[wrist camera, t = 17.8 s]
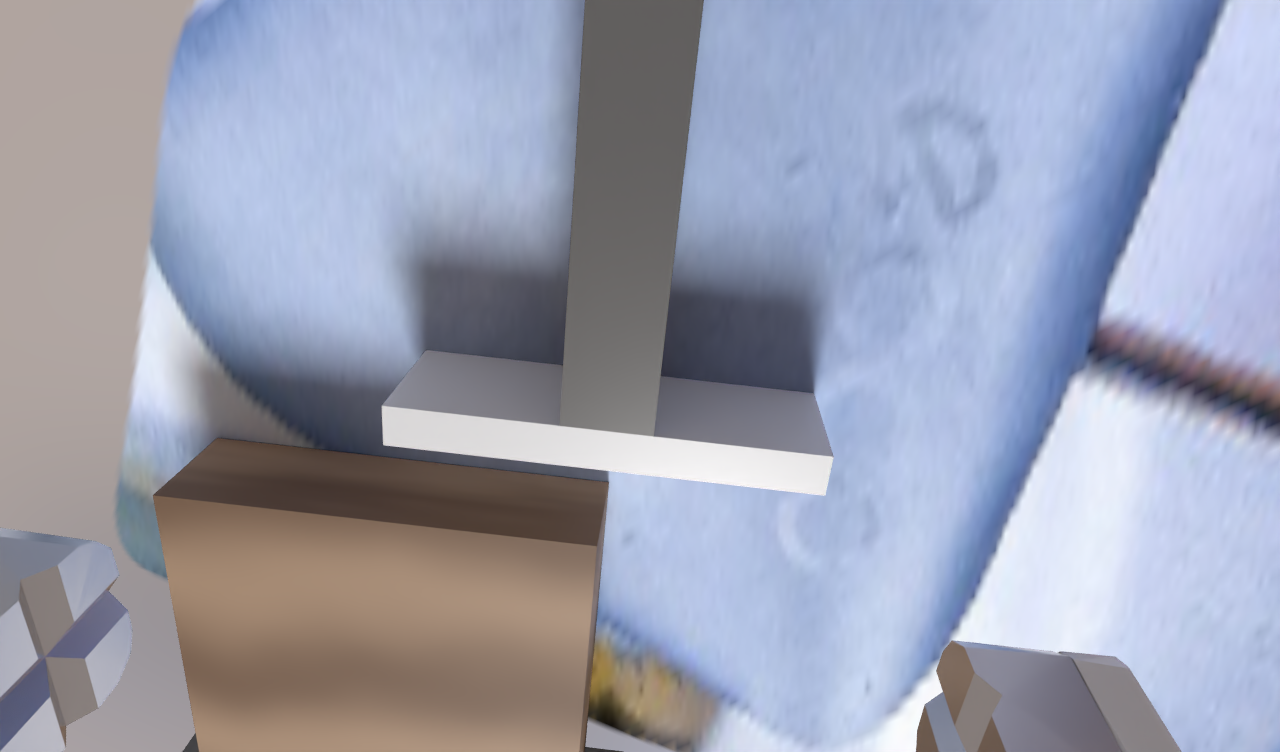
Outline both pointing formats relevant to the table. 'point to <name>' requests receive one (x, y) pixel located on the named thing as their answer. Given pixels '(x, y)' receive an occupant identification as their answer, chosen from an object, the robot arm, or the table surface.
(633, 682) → the table surface
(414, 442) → the scraper
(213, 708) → the walnut plate
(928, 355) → the table surface
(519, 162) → the table surface
